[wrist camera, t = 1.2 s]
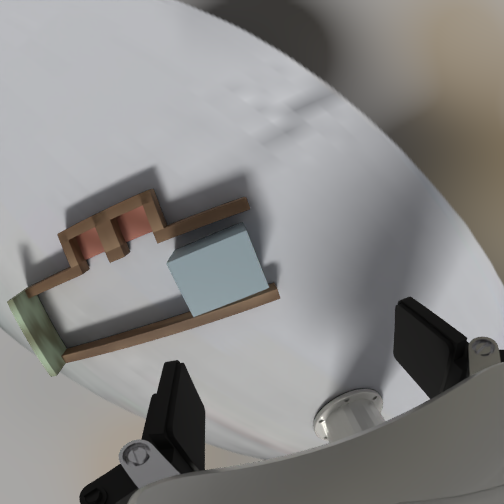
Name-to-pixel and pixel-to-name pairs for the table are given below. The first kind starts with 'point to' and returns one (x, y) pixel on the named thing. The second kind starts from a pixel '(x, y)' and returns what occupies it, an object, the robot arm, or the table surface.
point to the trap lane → (114, 245)
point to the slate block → (217, 270)
